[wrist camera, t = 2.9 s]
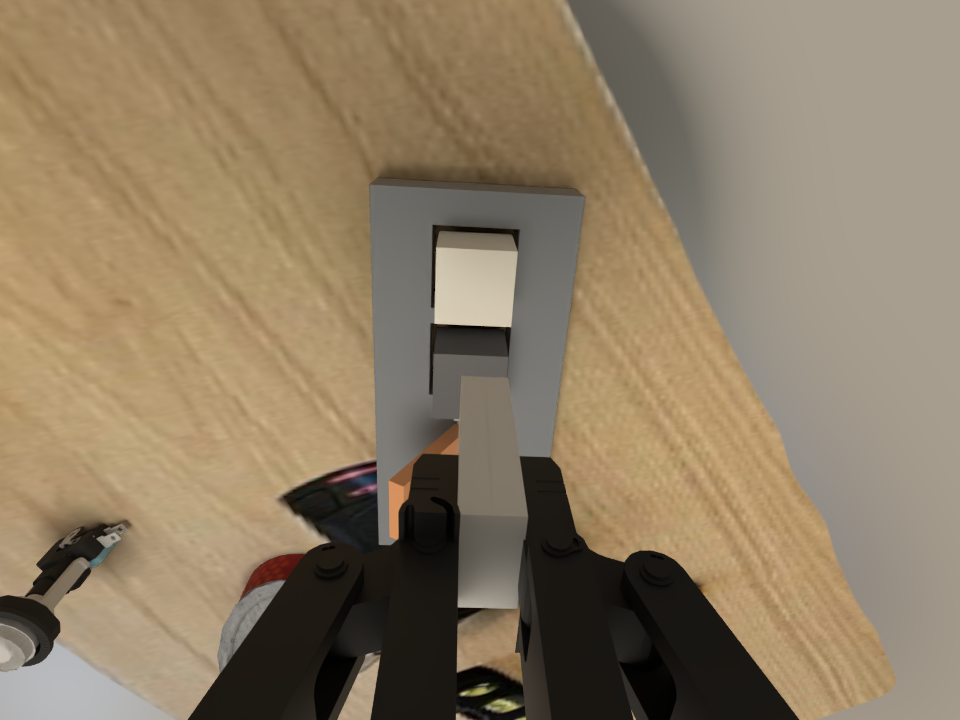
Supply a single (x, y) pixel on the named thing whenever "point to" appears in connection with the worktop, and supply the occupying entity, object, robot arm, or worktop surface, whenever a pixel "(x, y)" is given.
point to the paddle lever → (402, 479)
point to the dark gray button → (464, 364)
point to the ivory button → (475, 278)
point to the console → (411, 308)
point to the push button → (49, 596)
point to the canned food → (254, 603)
